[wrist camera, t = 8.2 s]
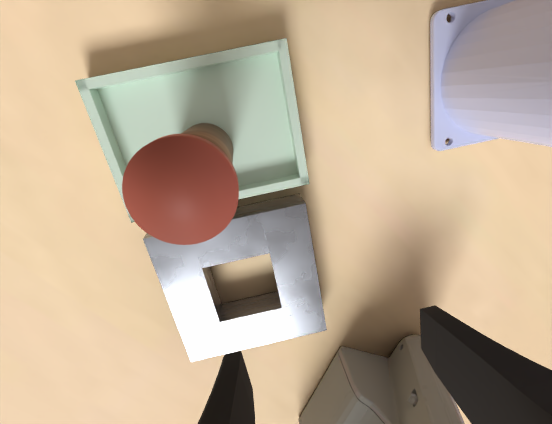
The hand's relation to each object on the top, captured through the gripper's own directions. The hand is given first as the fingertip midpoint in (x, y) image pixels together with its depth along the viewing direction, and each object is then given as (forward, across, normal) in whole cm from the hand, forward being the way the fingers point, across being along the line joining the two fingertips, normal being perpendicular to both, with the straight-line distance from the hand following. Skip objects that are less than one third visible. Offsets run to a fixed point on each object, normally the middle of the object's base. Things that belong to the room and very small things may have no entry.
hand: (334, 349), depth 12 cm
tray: (+10, +4, -8) cm, 14 cm away
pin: (+10, +4, -7) cm, 13 cm away
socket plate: (+10, +4, +2) cm, 11 cm away
